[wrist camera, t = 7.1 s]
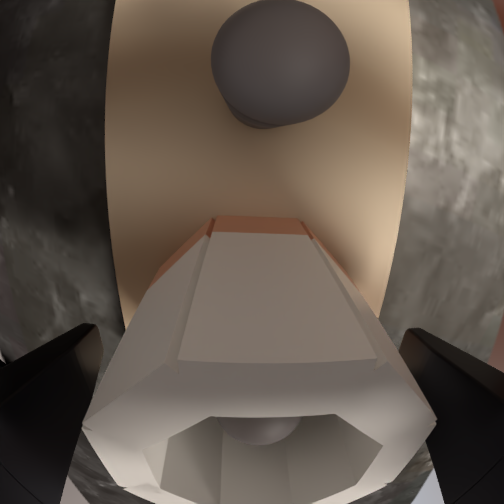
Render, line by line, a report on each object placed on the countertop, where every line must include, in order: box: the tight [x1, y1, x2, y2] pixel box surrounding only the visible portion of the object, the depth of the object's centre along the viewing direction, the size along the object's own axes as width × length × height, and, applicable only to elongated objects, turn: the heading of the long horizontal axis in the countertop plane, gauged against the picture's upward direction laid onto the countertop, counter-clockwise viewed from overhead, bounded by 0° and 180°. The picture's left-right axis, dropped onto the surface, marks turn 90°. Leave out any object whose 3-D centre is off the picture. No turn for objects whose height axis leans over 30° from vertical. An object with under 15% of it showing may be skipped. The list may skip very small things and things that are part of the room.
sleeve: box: [82, 215, 437, 504], centre depth 7 cm, size 6×6×6 cm
